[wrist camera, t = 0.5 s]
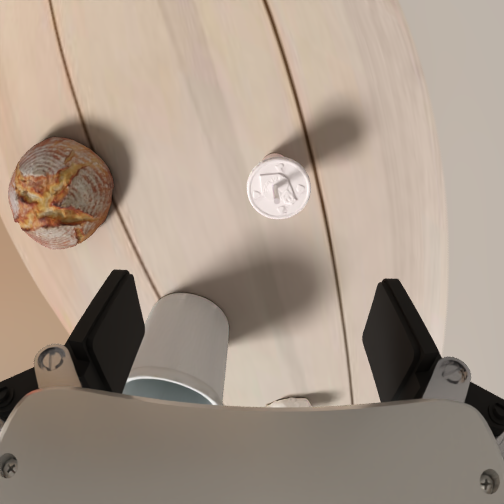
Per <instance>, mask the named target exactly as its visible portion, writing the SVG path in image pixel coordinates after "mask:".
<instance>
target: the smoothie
mask: <svg viewBox="0 0 504 504" xmlns="http://www.w3.org/2000/svg"><path fill="white" fill-rule="evenodd" d="M310 193H311V185H310V180H309V176H308V174H307V172H306V170H305V169H304V168H303V167H302V166H301V165H300V164H299V163H298V162H296V161H294V160H293V159H290V158H287V157H284V156H283V155H281V154H277V153H272V154H269V155H267V156H266V157H264V159H263V160H262V161H261V162H259V163H258V164H257V165H256V166H255V167H254V168H253V170H252V171H251V173H250V174H249V177H248V181H247V194H248V198H249V201H250V203H251V205H252V206H253V207H254V209H255V210H256V211H258V212H259V213H260V214H262V215H264V216H266V217H268V218H272V219H285V218H289V217H292V216H294V215H296V214H297V213H299V212H300V211H301V210H302V209H303V208H304V207H305V205H306V204H307V202H308V200H309V197H310Z"/></svg>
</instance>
